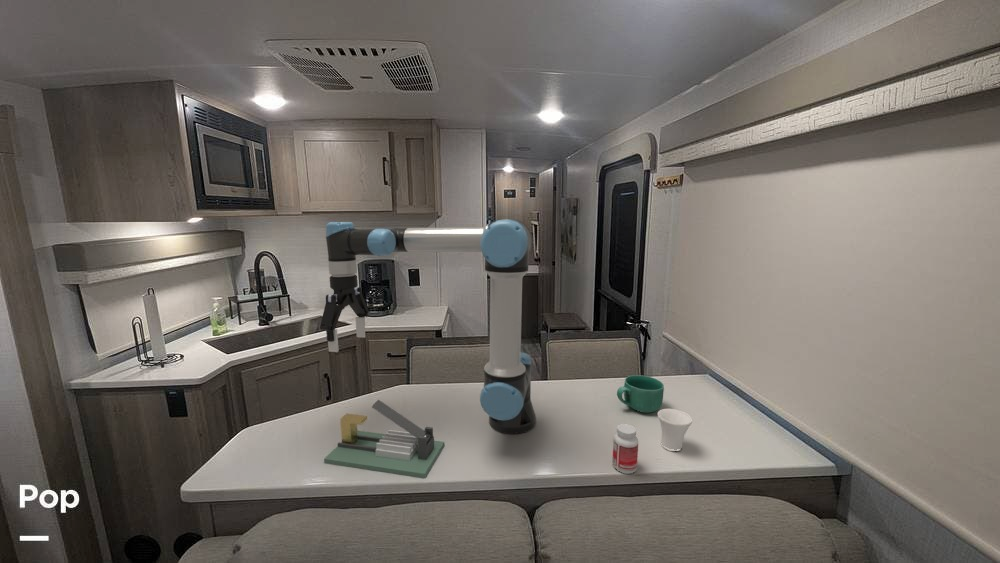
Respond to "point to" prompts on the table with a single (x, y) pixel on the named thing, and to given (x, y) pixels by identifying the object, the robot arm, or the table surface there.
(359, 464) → the board
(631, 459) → the pill bottle
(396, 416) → the strap
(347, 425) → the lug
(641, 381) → the mug
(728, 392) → the table surface
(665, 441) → the cup
